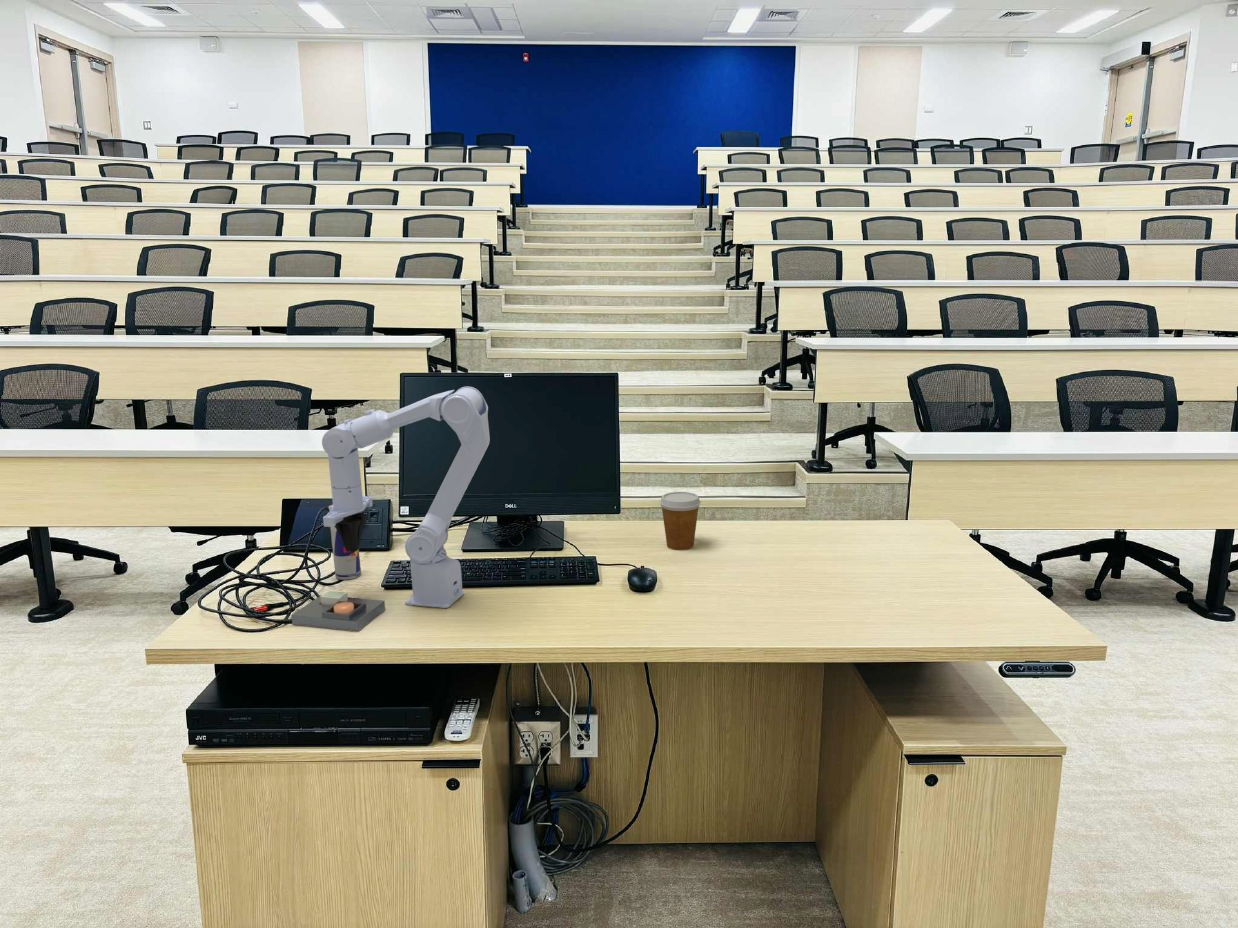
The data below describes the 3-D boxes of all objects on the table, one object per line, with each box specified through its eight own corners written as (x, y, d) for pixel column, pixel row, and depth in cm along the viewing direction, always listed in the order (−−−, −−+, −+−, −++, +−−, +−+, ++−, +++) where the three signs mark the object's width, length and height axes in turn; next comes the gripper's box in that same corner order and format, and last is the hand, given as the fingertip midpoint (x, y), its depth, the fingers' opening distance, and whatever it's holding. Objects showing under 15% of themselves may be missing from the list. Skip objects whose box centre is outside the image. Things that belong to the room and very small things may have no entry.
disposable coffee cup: (673, 536, 210) (673, 489, 207) (707, 543, 204) (708, 494, 201) (652, 547, 202) (651, 498, 199) (686, 555, 197) (686, 504, 194)
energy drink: (353, 581, 185) (348, 527, 182) (331, 579, 186) (325, 526, 183) (365, 572, 190) (360, 520, 187) (343, 570, 191) (338, 519, 189)
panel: (385, 610, 170) (384, 595, 169) (357, 631, 161) (356, 616, 160) (322, 604, 173) (321, 590, 173) (292, 624, 164) (290, 609, 163)
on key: (348, 606, 171) (347, 591, 170) (340, 612, 168) (338, 597, 167) (330, 604, 172) (329, 590, 171) (322, 610, 169) (320, 596, 168)
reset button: (358, 617, 166) (357, 602, 165) (348, 625, 162) (346, 610, 161) (342, 615, 166) (340, 601, 166) (331, 623, 163) (329, 608, 162)
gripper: (348, 474, 178) (354, 537, 181) (306, 493, 164) (313, 561, 167) (379, 476, 176) (384, 539, 179) (339, 496, 162) (346, 564, 166)
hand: (352, 550), depth 173 cm, fingers closed
